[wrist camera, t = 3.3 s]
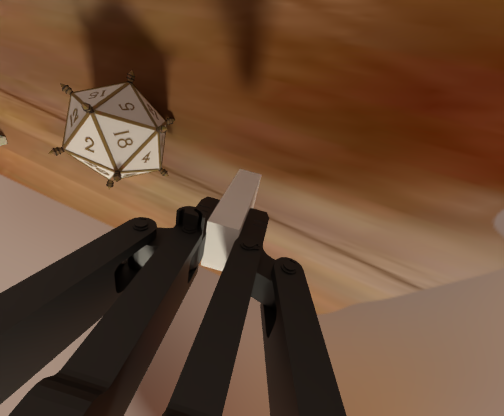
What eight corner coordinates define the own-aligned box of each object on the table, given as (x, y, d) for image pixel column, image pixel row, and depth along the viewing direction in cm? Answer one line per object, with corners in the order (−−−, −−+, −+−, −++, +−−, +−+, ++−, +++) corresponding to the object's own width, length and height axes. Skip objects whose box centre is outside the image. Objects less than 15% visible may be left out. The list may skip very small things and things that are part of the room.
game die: (182, 126, 28) (192, 202, 23) (101, 143, 27) (93, 225, 22) (148, 35, 20) (152, 118, 15) (35, 55, 20) (-2, 149, 14)
